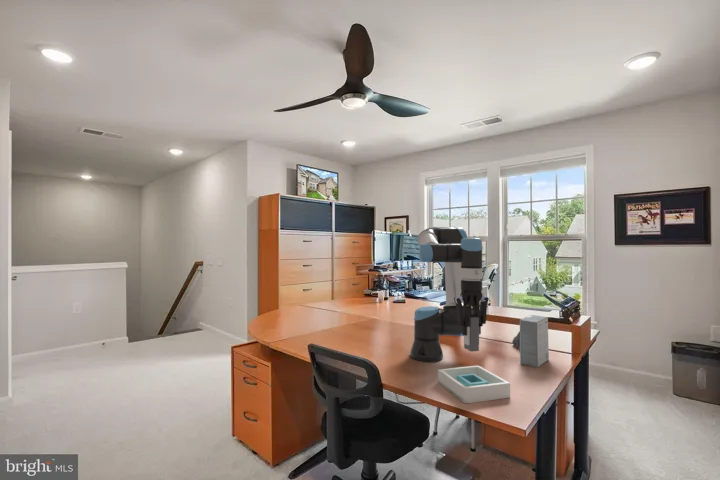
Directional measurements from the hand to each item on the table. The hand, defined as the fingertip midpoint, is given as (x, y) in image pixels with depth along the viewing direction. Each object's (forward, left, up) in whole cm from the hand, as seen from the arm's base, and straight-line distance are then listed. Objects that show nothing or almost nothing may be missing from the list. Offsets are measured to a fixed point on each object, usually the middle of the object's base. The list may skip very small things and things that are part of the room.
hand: (471, 343), depth 123 cm
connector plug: (0, 0, -2) cm, 2 cm away
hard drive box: (-19, +46, -17) cm, 53 cm away
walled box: (0, 0, -17) cm, 17 cm away
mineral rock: (-38, +57, -17) cm, 70 cm away
